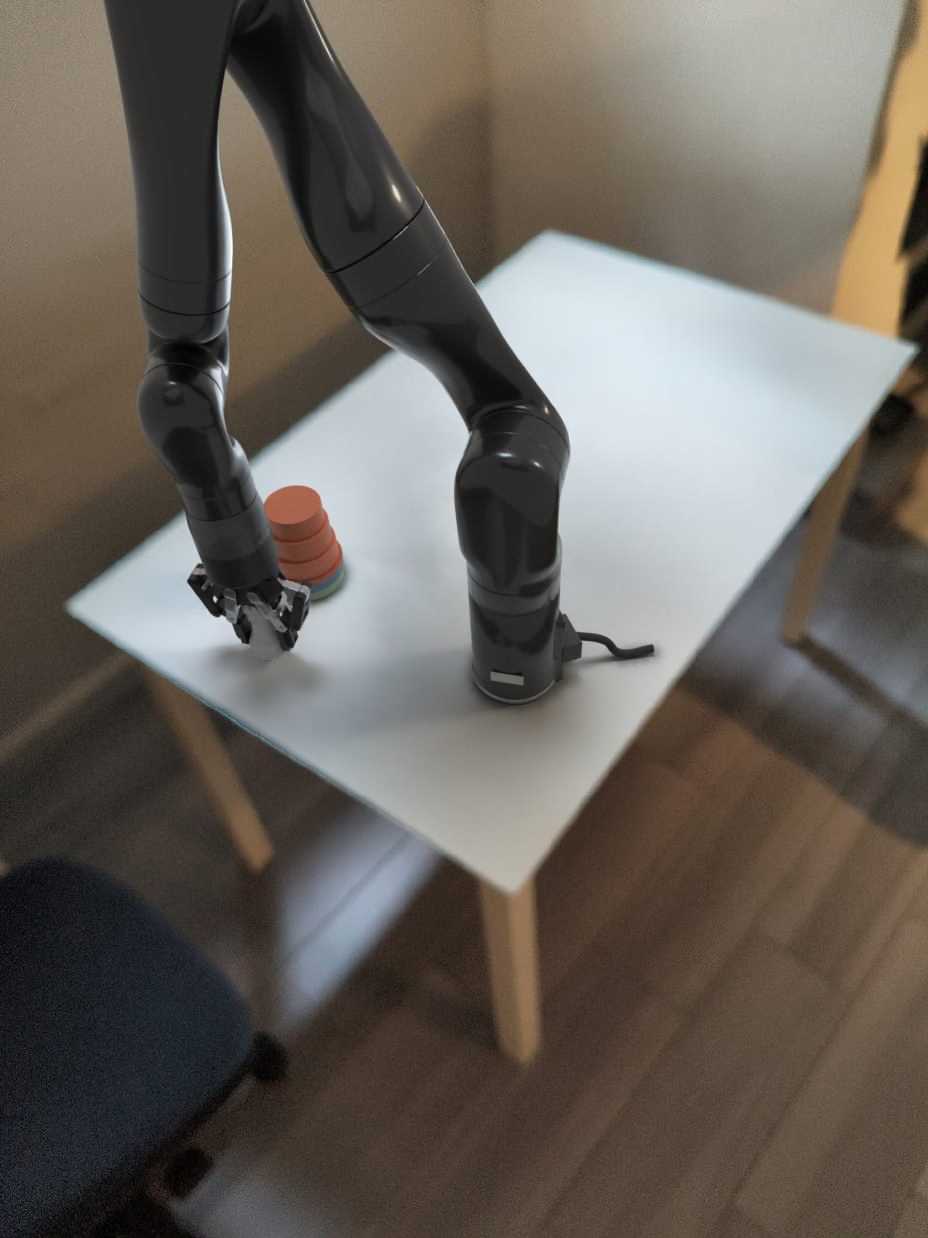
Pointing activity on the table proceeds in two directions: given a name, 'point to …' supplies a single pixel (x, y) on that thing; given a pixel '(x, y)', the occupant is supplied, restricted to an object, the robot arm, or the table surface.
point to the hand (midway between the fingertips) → (269, 641)
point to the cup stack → (305, 539)
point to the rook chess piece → (262, 635)
